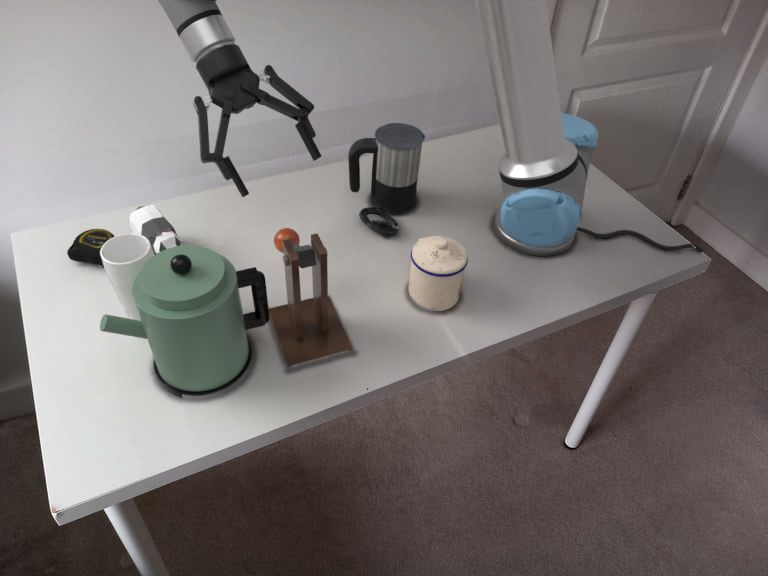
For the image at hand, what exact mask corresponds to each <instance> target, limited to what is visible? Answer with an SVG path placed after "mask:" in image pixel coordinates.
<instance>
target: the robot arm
mask: <svg viewBox="0 0 768 576" xmlns="http://www.w3.org/2000/svg"><path fill="white" fill-rule="evenodd" d="M157 1H158V2H159V4H160V6H161V7H162V9H163V10H164V13H165V15H166V16H167V18H168V19H169V22H170V23H171V25H172V27H173V29H174V31H175V32H176V34H177V36H178V39H180V41H181V43H182V44H183V47H184V49H185V50H186V53H187V54H188V56H189V58H190V59H191V61H192V62H193V63H196V65H195V68H196V70H197V72H198V74H199V76H200V78H201V79H202V81H203V83H204V85H205V87H206V89H207V90H208V94H206V95H203V96H199V95H197V96H195V97H194V99H193V103H192V104H193V107H194V110H195V112H196V114H197V122H198V139H199V154H200V157H199V158H200V162H201V163H202V164H208V163H210V164H211V163H214V164H215V165H216V166H217V168H218V169H219V171H220V173H221V175H222V177H223V178H224V180H226V181H227V182H228V181H230V180H232V181H233V183H234V185H235V187H236V189H237V190H238V192H239V194H240V196H241V197H242V198H244V197H247V196H248V195H250V192H249V190H248V188H247V186H246V185H245V183H244V181H243V179H242V178H241V176H240V173H239V172H238V171H237V168H236V166H235V165H234V163H233V162H232V160H231V158H230V156H229V155H227V156H225V157H223V155H224V151H225V145H226V140H227V134H228V130H229V125H230V120H231V116H232V114H233V115H239V114H241V113H242V112H243V111H244V110H248V109H251V108H254V107H255V105H256V104H259V105H260V106H265V107H267V108H268V109H271V110H273V111H275V112H277V113H279V114H281V115H284V116H285V117H288V118H290V119H292V120H294V121H296V122H297V123H296V124H295V125H294V126H295V128H296V130H297V133H298V134H299V136H300V138H301V140H302V142H303V143H304V144H303V145H305V147H306V149H307V151H308V153H309V155H310V157H311V159H312V160H313V162H314V161H317V160H318V159H320V158H321V157H322V154H321V152H320V150H319V148H318V147H317V145H316V143H315V140H314V138H315V137H316V136H317V135H316V131H315V128H314V127H313V124H311V121H310V119H309V115H310V114H311V113H312V112H313V111H314V109H315V104H313V102H311V101H310V100H309V99H307V98H306V97H305V96H304V95H303V94H301V93H300V92H299V91H298V90H296V89H295V88H294V87H292V85H290V84H289V83H288V82H286V81H285V80H284V79H283V78H281V77H280V76H279V75H278V73H277V72H276V71H275V69H274V68H273V66H272V65H271V64H267V65H265V66H264V68H263V69H261V70H260V71H259V72H257V73H255V71H254V70H252V68H251V66H250V64H249V62H248V61H247V59H246V57H245V54H244V53H243V51H242V49H241V48H240V45H237V44H235V43H236V37H235V36H234V34H233V32H232V30H231V29H230V27H229V25H228V23H227V22H226V19H225V18H224V16H223V14H222V12H221V10H220V8H219V6H218V4H217V0H157ZM474 1H475V7H476V13H477V16H478V21H479V26H480V32H481V36H482V41H483V47H484V52H485V56H486V57H485V58H486V61H487V66H488V72H489V77H490V81H491V86H492V91H493V97H494V103H495V107H496V111H497V117H498V123H499V127H500V131H501V135H502V141H503V146H504V150H505V152H504V153H503V154H502V156H501V157H500V158H499V160H498V165H497V167H498V173H499V177H500V183H501V187H502V192H503V201H502V203H501V204H500V206H499V207H498V208H497V210H496V213H495V216H494V220H493V227H494V231H495V233H496V235H497V237H498V238H499V239H500V241H502V242H503V243H505V245H507V246H508V247H510V248H512V249H514V250H516V251H518V252H521V253H524V254H527V255H531V256H540V257H545V256H546V257H547V256H554V255H555V256H556V255H559V254H561V253H563V252H565V251H567V250H568V249H569V248H570V247H571V246H572V244H573V242H574V240H575V236H576V234H577V231H578V232H581V233H584V234H587V235H589V236H592V237H594V238H598V239H608V238H613V237H615V236H620V235H631V236H635V237H637V238H639V239H641V240H642V241H644V242H646V243H648V244H649V245H651V246H653V247H655V248H657V249H660V250H664V251H679V250H680V251H681V250H685V249H695V250H697V249H698V250H697V251H698V252H699V253H703V252H704V250H703V248H702V246H700V245H699V244H696V243H685V244H680V245H673V246H672V245H666V244H665V245H664V244H661V243H658V242H657V241H656V240H655V241H654V240H652V239H651V238H649V237H647V236H646V235H645V234H642V233H640V232H638V231H635V230H629V229H620V230H616V231H613V232H610V233H604V234H603V233H598V232H595V231H592V230H590V229H586V228H584V227H581V226H579V224H580V222H581V221H582V217H583V213H582V211H583V204H584V199H585V192H586V187H587V181H588V174H589V171H590V165H591V162H592V158H593V154H594V151H595V148H597V147H598V140H599V130H598V129H597V127H596V126H595V125H594V124H593V123H591V122H590V121H588V120H586V119H585V118H582V117H580V116H577V115H573V114H569V113H564V112H562V110H561V101H560V96H559V95H560V94H559V88H558V78H557V73H556V64H555V58H554V49H553V41H552V36H551V27H550V21H549V13H548V4H547V0H474ZM261 81H262V82H263V83H265V84H269V85H270V87H271V88H273V89H274V90H275V91H276V92H278V94H280V95H281V96H283V97H284V98H285V99H287V100H288V101H289V102H290V103H291V104H290V103H287V102H286V101H284V100H282V99H280V98H277V97H275V96H274V95H271V94H270V93H269V92H267V91H265V90H263V89H261V88H260V84H261V83H260V82H261ZM211 103H212V104H213V105H215V106H217V107H219V108H220V109H221V112H220V117H219V118H220V119H219V124H218V131H217V134H216V140H215V145H214V150H213V152H211V149H210V135H209V132H210V131H209V119H208V117H209V116H208V111H209V110H210V107H211V105H210V104H211ZM292 104H293V105H292ZM692 245H693V246H694V247H696V248H694V247H693V246H692Z"/></svg>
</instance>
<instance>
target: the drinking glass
mask: <svg viewBox="0 0 768 576" xmlns="http://www.w3.org/2000/svg"><path fill="white" fill-rule="evenodd" d="M114 236H115V235H114ZM100 256H101V259H102V262H103V265H104V266H103V269H104V272H105V274H106V276H107V278H108V280H109V282H110V284H111V287H112V288H113V290H114V292H115V294H116V296H117V298H118V300H119V302H120V304H121V306H122V308H123V310H124V312H125V314H126V316H127V318H128V319H134V320H139V321H141V319H140V316H139V313H138V310H137V307H136V304H135V301H134V298H133V295H132V286H133V282H134V280H135V278H136V276H137V274H138V273H139V272H140V270H141V269H142V268H143V266H144V265H145V263H146V262H147V261H148V260H149V259H150V258H152V257H153V256H154V252H153V249H152V247H151V244H150V241H149V240H148V239H147V238H146V237H144V236H142V235H139V234H133V233H132V232H129V233H122V234H118V235H116V236H115V237H113V238H111V239H109V240H108V241H107V242H105V243H104V245H103V246H102V248H101V250H100Z"/></svg>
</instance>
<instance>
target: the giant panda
mask: <svg viewBox="0 0 768 576" xmlns="http://www.w3.org/2000/svg"><path fill="white" fill-rule="evenodd" d="M128 223H129V230H130V233H133V234H139V235H142V236H144V237H146V238H147V239H148V240H149V241H150V244H151V247H152V249H153V252H154V255H156V254H157V253H159V252H161V251H163V250H166V249H169V248H172V247H176V246H182V245H183V243H182V241H181V239H180V237H179V236H178V234H177V231H176V230H175V227H174V226H173V225H172V224H171V223H170V221H168V219H167V218H166V217H165V216H164V214H163V213H162V212H161V210H160V209H159V208H158V207H157V206H155V204H151V205H146V206H145V205H141V206H138V207H137V208H135V210H134V211H132V212H131V213H130V215H129V218H128Z"/></svg>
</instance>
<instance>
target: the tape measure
mask: <svg viewBox="0 0 768 576" xmlns="http://www.w3.org/2000/svg"><path fill="white" fill-rule="evenodd" d="M113 237H115V235H114V234H113V233H112V232H110V231H109V230H107V229H104V228H91V229H88V230H85V231H82V232H81V233H79V234H78V235H77V236H76V237H75V239H74V240H73V242H72V244H71V245H70V246H69V248H68V249H67V252H66V254H67V256H68V258H69V259H70V260H71V261H73V262H77V263H85V264H89V265H90V264H91V265H96V266H100V267H104V265H103V262H102V259H101V256H100V250H101V248H102V246H103V245H104V243H105V242H107V241H108V240H109V239H111V238H113Z"/></svg>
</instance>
